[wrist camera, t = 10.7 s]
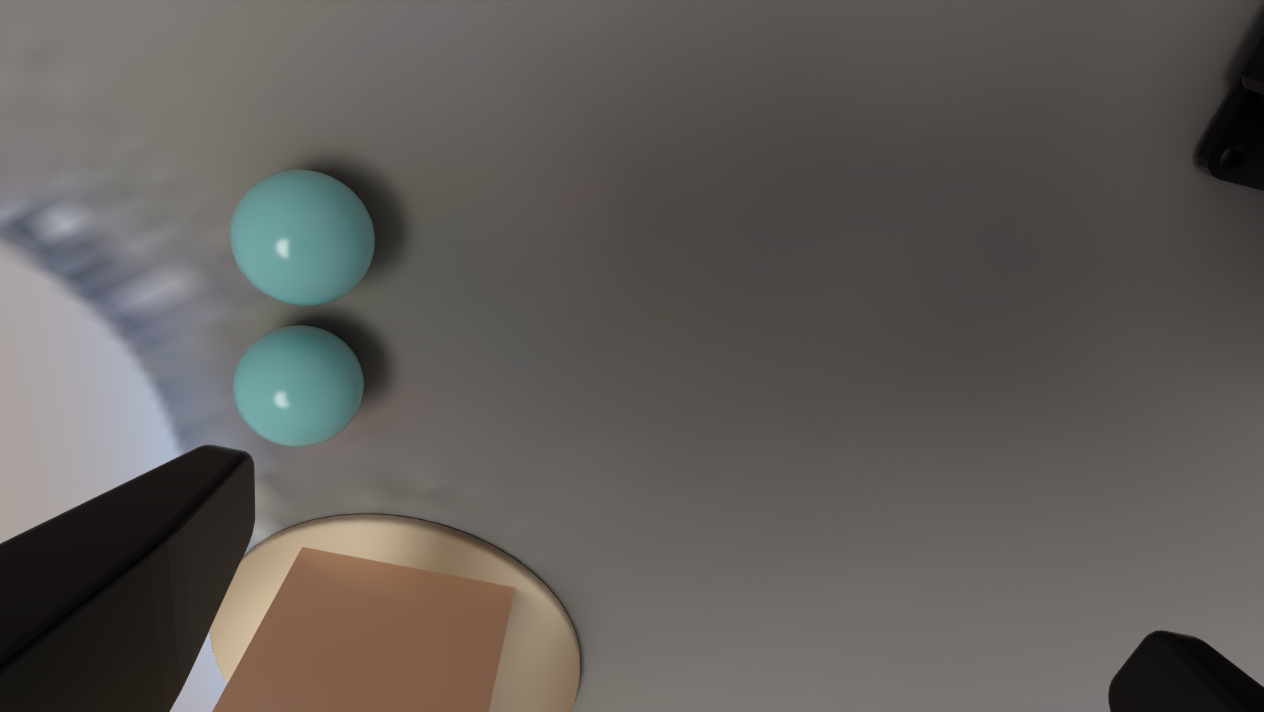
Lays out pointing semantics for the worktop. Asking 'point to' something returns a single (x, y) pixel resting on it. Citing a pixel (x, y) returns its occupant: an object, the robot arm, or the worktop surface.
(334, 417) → the marble
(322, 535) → the coaster
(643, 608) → the worktop surface
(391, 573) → the salmon pink block
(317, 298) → the marble
